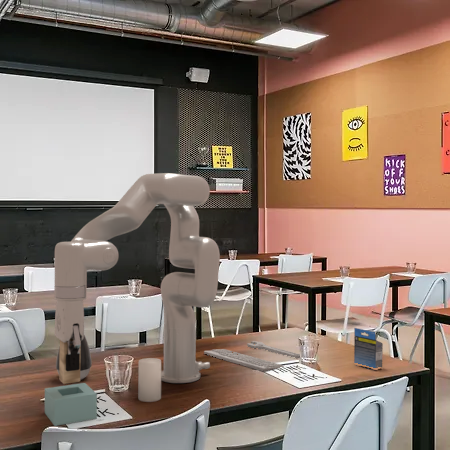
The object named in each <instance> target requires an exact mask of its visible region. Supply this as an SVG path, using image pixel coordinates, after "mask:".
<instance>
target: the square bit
mask: <svg viewBox="0 0 450 450" xmlns="http://www.w3.org/2000/svg"><path fill="white" fill-rule="evenodd" d="M69 341H74V340H73V338H71V339H70V340H69ZM80 342H81V341H80ZM71 345H73V343H72V344H70V348H71ZM59 346H60V361H59V374H58V378H59V379H58V380H59V381H60V382H61V383H62V384H63V385H65V384H66V385H67V384H71V383H72V384H75V383H81V380H80V369H79V370H74V371H66V354H67V341H66V342H65V343H64V342H62V341H61V340H60V339H59ZM80 351H81V345H80Z"/></svg>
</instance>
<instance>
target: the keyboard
mask: <svg viewBox="0 0 450 450" xmlns="http://www.w3.org/2000/svg"><path fill="white" fill-rule="evenodd" d="M232 352H233V353H232ZM203 354H204V355H205V354H207V355H206V356H209V355H210V356H209V357H212V356H213V357H212V358H215V357H216V359H220V360H222V359H223V361H227V362H229V363H232V364H236V365H239V364H240V365H239V366H244V367H247V368H249V369H254V370H257V371H261V372H268V370H269V371H273V370H277V368H278V369H280V367H282V368H284V365H283V364H280V363H277V362H273V361H270V360H266V359H262V358H259V357H256V356H251V355H247V354H243V353H240V352H236V351H233V350H230V349H225V348H220V349H217V348H216V349H211V350H204V351H203ZM237 354H238V355H237Z"/></svg>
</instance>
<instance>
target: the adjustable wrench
mask: <svg viewBox="0 0 450 450" xmlns="http://www.w3.org/2000/svg"><path fill="white" fill-rule="evenodd" d="M254 344H255V345H254ZM246 346H248V347H251V348H254V349H253V350H256V349H255V348H258V349H257V350H261V349H265V350H264V351H266V350H268V351H267V352H270V351H271V352H270V353H273V352H275V353H274V354H277V353H278V354H277V355H280V354H283V355H282V356H284V355H287V356H286V357H288V356H291V357H295V358H300V353H296V352H293V351H288V350H285V349H280V348H277V347H274V346H269V345H266V344H265V343H264V342H262V341H256V340H252V341H250V343H249V342H248V343H247V344H246ZM248 347H247V348H248ZM251 348H250V349H251ZM291 357H290V358H291ZM295 358H294V359H295Z"/></svg>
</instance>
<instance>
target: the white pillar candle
mask: <svg viewBox="0 0 450 450" xmlns="http://www.w3.org/2000/svg"><path fill="white" fill-rule="evenodd" d="M161 371H162V359H160V358H156V357H148V358H147V357H146V358H142V359H141V358H140V359H139V360H138V381H137V383H138V386H137V387H138V391H137V392H138V393H137V394H138V395H137V396H138V401H141V402H146V403H153V402H157V401H160V400H161V399H162V380H161Z"/></svg>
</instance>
